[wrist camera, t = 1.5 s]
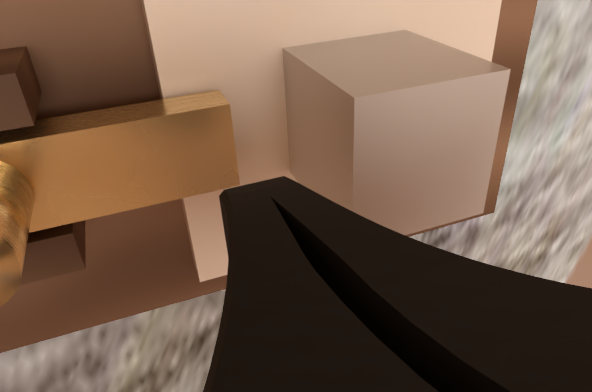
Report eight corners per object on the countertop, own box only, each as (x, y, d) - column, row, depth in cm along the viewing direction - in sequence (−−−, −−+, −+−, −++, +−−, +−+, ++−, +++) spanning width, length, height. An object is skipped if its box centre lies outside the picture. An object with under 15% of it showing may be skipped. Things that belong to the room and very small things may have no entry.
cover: (451, 196, 20) (553, 275, 16) (194, 265, 17) (232, 386, 13) (496, -110, 15) (675, -119, 10) (122, -89, 12) (146, -88, 7)
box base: (472, 196, 23) (535, 242, 20) (-112, 354, 16) (-160, 462, 13) (535, -167, 16) (651, -186, 13) (-478, -149, 9) (-786, -181, 6)
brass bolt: (229, 166, 14) (273, 245, 11) (-33, 222, 13) (-75, 338, 9) (219, 89, 13) (265, 151, 10) (-74, 138, 11) (-141, 236, 8)
